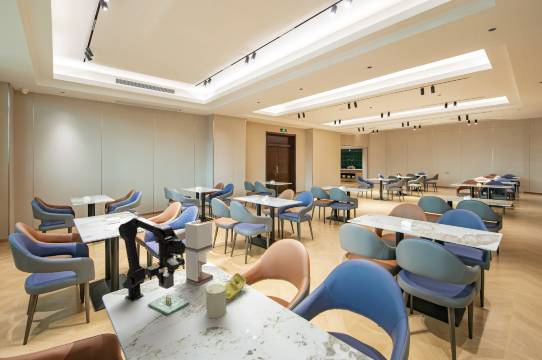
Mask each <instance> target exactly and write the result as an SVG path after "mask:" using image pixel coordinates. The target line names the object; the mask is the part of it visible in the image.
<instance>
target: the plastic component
mask: <svg viewBox="0 0 542 360" xmlns="http://www.w3.org/2000/svg"><path fill="white" fill-rule="evenodd" d="M246 282H247V280H246V278H245V277H244V276H243V275H241V274H240V272H239V273H238V272H236V273H235V274H234V275H233V276H232V277H231V279H230V280H228V282H226V284H224V286H225V287H226V303H229V302H230V301H232V300H233V298H235V297H236V296H237V295H238V294H240V291H241V290H242V289H243V288H244V287H245V285H246V284H247V283H246Z"/></svg>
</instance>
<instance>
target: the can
mask: <svg viewBox="0 0 542 360" xmlns="http://www.w3.org/2000/svg"><path fill="white" fill-rule="evenodd" d="M205 290H206V316H207V317H208V318H213V319H216V318H221V317H224V316H225V315H226V314H227V302H226V287H225V284H219V283H218V284H216V283H215V284H211V285H209V286H207V287H206V289H205Z"/></svg>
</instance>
